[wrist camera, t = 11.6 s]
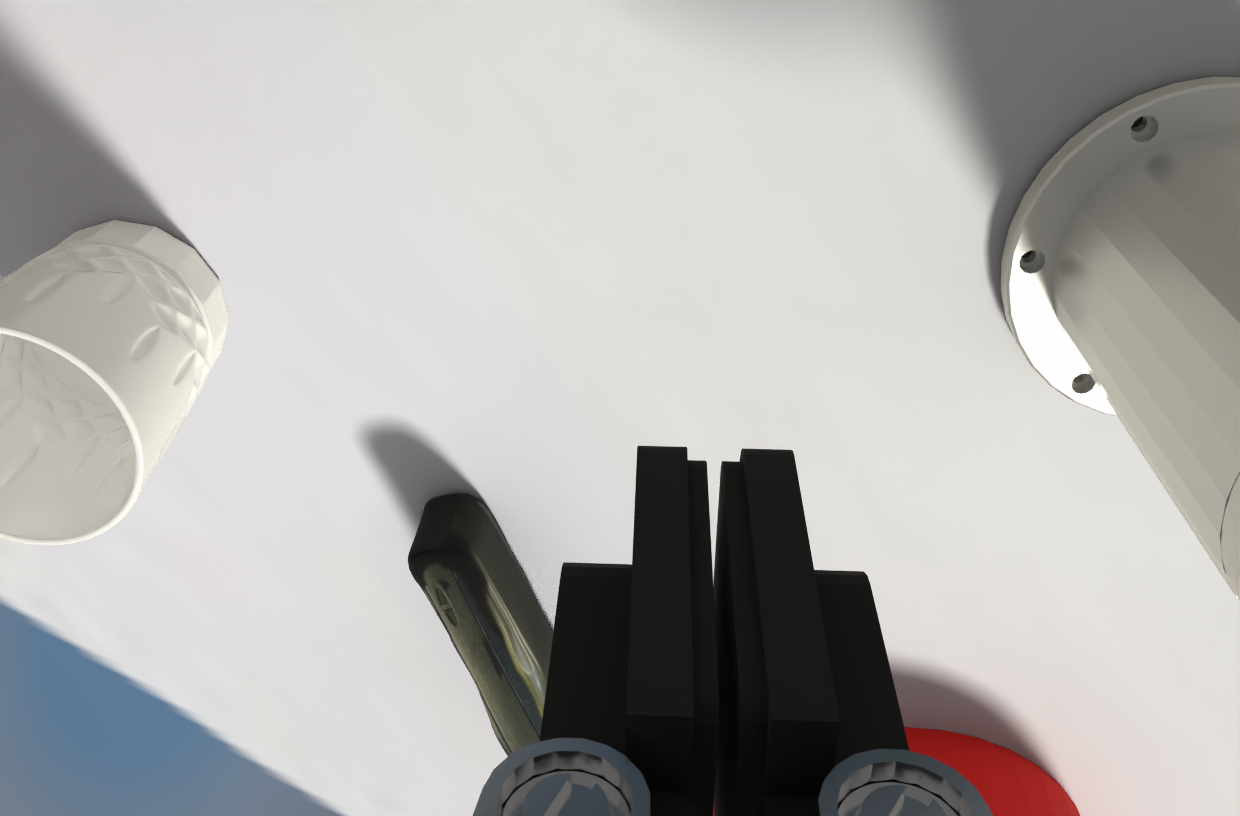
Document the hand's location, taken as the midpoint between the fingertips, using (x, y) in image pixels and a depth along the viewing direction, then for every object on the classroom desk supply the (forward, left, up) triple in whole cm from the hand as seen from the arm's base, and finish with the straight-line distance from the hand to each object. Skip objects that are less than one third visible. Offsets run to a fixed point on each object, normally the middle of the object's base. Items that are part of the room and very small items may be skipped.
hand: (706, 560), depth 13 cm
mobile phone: (+6, +26, -30) cm, 40 cm away
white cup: (+20, +11, -29) cm, 37 cm away
